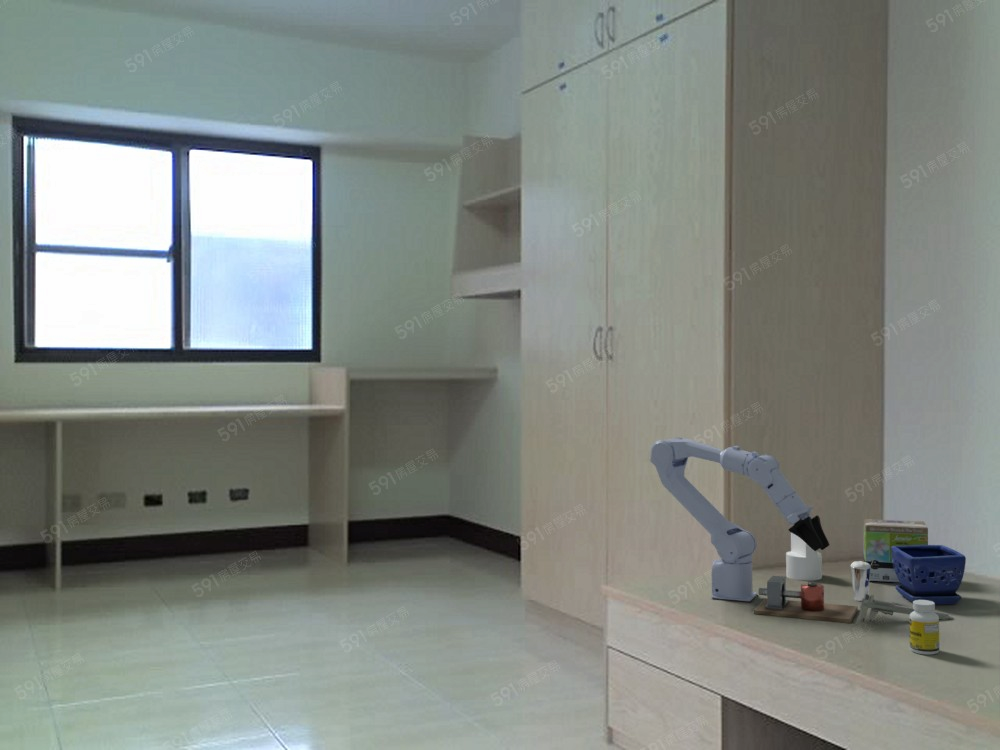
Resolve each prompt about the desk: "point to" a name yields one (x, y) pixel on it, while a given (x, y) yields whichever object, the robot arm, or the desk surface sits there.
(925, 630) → the supplement bottle
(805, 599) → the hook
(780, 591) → the slotted metal block
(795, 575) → the base with upright slab
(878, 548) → the tea box
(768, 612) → the board
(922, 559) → the flower pot
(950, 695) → the desk surface
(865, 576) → the milkshake
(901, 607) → the caliper
